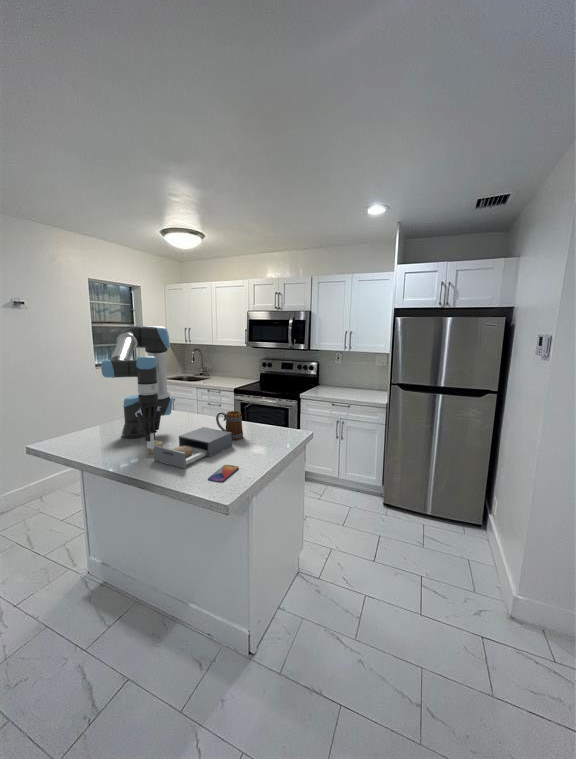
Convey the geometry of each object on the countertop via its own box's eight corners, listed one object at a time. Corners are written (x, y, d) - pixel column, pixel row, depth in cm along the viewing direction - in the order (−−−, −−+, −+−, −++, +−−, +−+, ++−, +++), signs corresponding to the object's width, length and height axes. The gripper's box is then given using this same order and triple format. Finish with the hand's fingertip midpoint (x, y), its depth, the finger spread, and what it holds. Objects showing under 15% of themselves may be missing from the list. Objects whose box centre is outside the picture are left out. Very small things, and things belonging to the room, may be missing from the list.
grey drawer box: (209, 457, 155) (208, 442, 154) (179, 449, 164) (178, 435, 163) (232, 446, 171) (231, 432, 170) (203, 439, 180) (203, 427, 179)
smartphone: (206, 481, 131) (206, 479, 131) (225, 466, 145) (224, 464, 145) (222, 484, 129) (222, 481, 129) (239, 468, 143) (239, 466, 143)
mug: (245, 435, 189) (244, 410, 187) (240, 440, 179) (240, 415, 177) (219, 434, 191) (219, 409, 189) (213, 439, 181) (213, 414, 178)
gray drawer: (183, 469, 141) (183, 453, 140) (152, 460, 150) (152, 446, 149) (210, 455, 156) (209, 442, 155) (181, 448, 165) (180, 435, 164)
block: (148, 452, 160) (147, 443, 159) (156, 449, 164) (155, 440, 163) (155, 454, 157) (154, 445, 157) (163, 451, 162) (162, 442, 161)
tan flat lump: (167, 457, 151) (167, 450, 150) (182, 451, 159) (181, 445, 158) (181, 460, 147) (181, 454, 146) (195, 454, 154) (195, 448, 154)
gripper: (140, 396, 125) (143, 454, 128) (166, 391, 137) (169, 444, 140) (128, 395, 129) (131, 451, 132) (154, 390, 140) (157, 442, 143)
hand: (150, 447), depth 136 cm, fingers closed
